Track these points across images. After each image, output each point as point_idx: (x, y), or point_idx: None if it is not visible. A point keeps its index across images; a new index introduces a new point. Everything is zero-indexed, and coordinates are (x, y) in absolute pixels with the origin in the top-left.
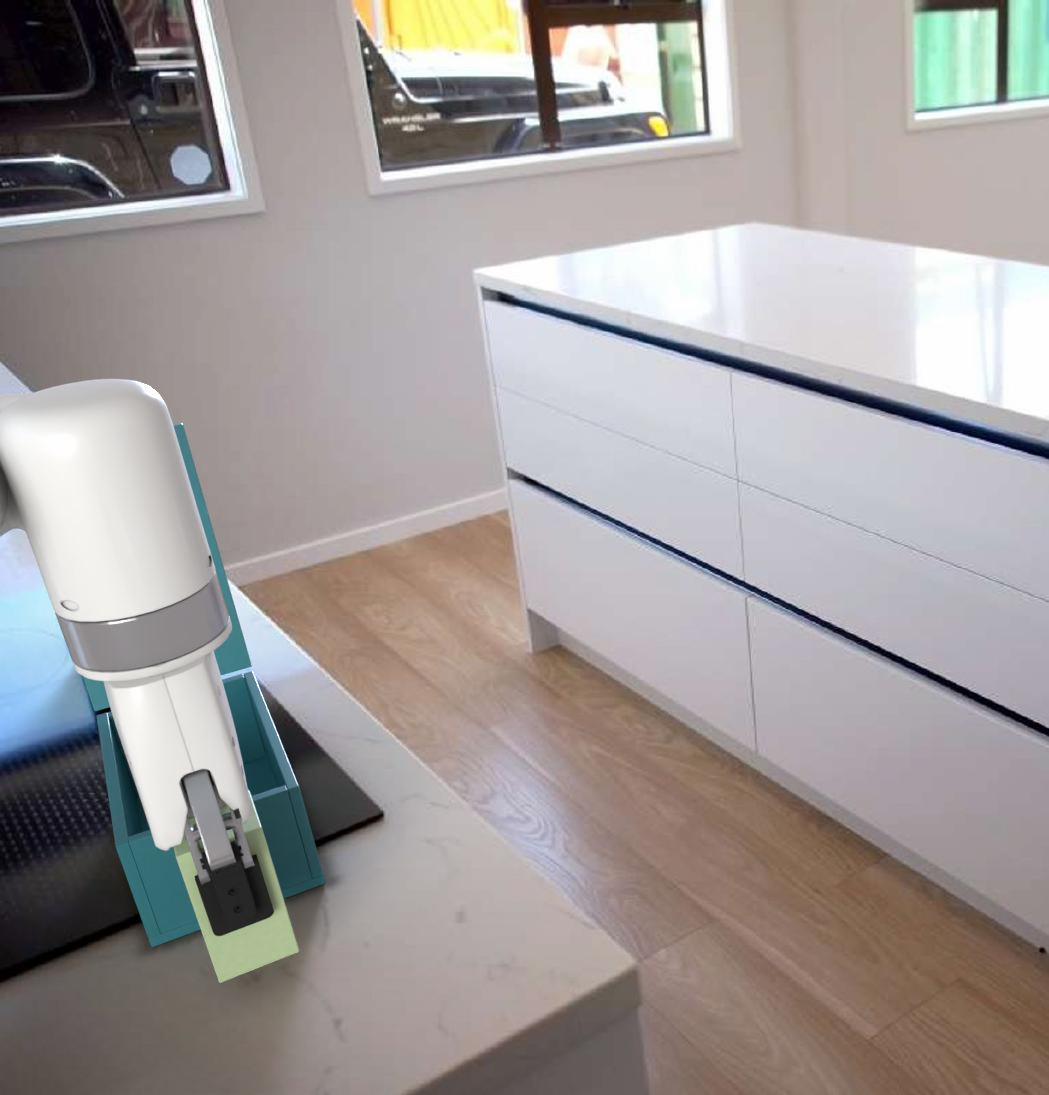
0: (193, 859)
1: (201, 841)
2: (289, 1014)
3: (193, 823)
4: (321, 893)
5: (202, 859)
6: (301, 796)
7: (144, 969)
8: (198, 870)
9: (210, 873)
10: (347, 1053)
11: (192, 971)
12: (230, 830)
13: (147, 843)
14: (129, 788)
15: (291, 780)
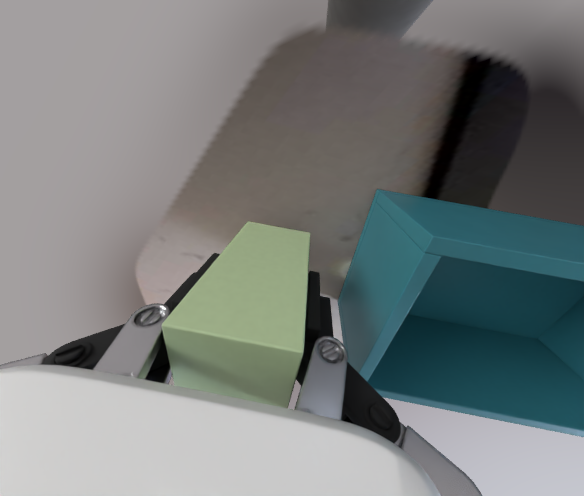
0: (113, 343)
1: (186, 356)
2: (224, 239)
3: (245, 366)
4: (330, 295)
5: (60, 363)
6: None
7: (353, 175)
8: (123, 327)
9: (76, 341)
10: (170, 251)
11: (318, 205)
12: (190, 383)
13: (407, 266)
14: None
15: None
